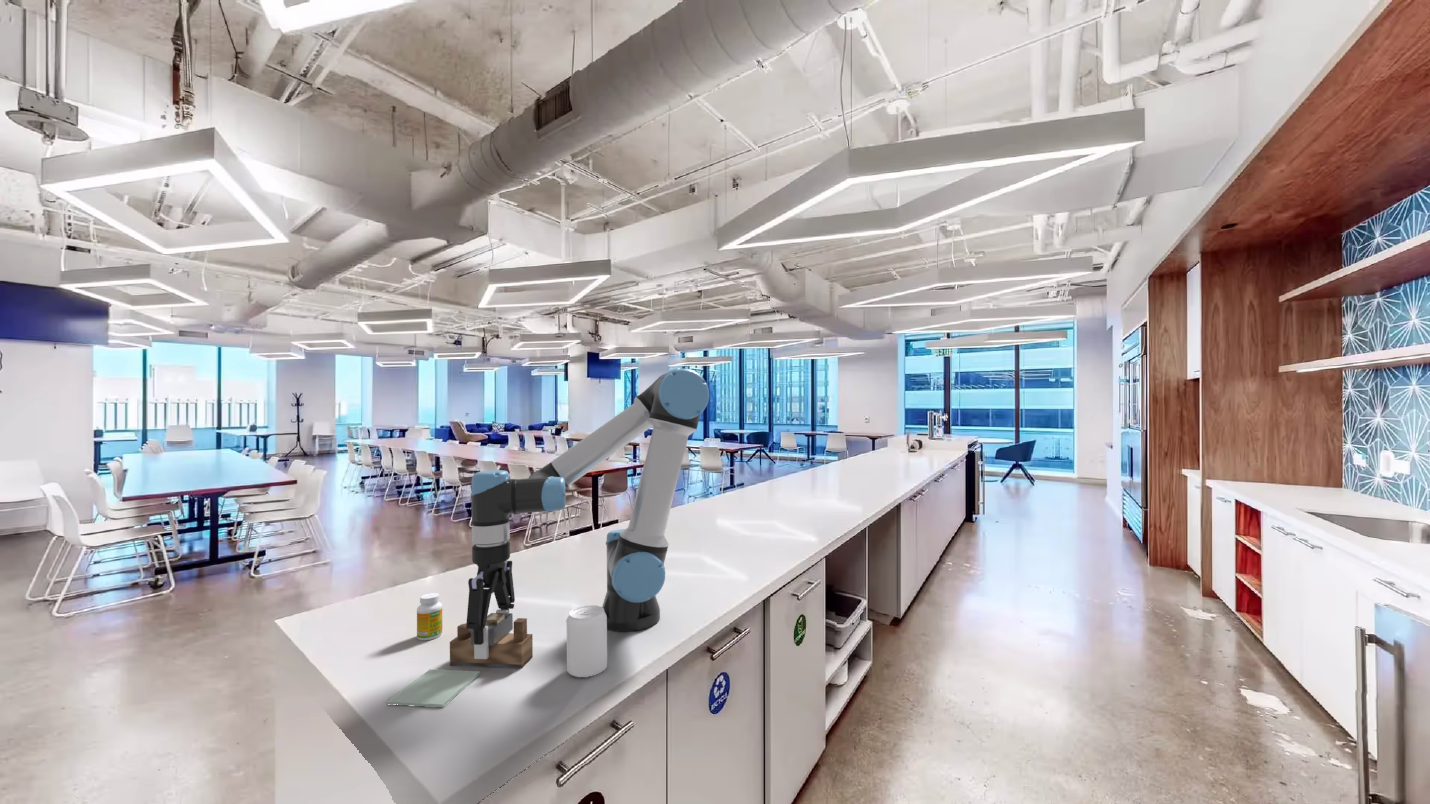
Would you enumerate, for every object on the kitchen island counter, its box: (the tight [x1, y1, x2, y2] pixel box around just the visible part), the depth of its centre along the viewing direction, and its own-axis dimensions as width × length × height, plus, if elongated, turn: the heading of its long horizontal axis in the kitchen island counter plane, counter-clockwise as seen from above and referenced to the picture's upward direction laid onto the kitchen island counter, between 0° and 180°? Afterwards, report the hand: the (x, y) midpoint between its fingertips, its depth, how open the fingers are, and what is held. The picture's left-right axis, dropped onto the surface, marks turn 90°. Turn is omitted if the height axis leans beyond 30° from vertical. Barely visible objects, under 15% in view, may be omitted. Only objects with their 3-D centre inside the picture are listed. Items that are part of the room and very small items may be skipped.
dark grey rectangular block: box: [471, 612, 514, 645], centre depth 112 cm, size 5×8×4 cm, turn 174°
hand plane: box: [449, 617, 534, 669], centre depth 112 cm, size 16×5×9 cm, turn 84°
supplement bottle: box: [416, 592, 443, 641], centre depth 125 cm, size 5×5×10 cm
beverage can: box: [566, 604, 608, 678], centre depth 107 cm, size 8×8×12 cm
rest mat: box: [386, 668, 481, 708], centre depth 101 cm, size 11×12×1 cm
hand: (492, 648), depth 112 cm, fingers closed on dark grey rectangular block, 8 cm apart
